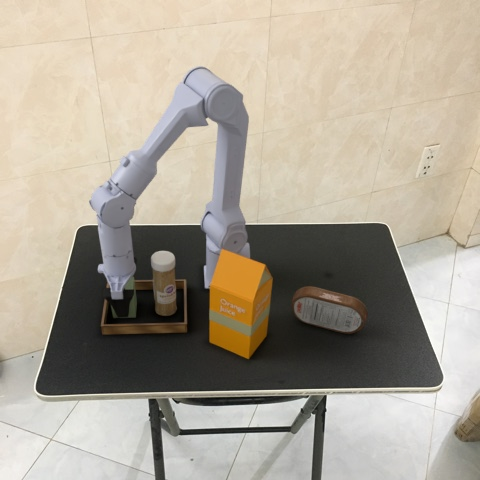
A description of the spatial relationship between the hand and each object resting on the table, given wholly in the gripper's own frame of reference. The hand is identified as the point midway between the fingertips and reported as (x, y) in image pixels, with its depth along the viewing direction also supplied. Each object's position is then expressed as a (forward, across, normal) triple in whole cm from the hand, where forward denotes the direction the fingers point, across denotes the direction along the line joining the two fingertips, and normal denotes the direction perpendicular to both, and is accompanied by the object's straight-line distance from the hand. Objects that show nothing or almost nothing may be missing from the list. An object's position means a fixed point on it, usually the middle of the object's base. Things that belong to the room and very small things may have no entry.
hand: (124, 303), depth 111 cm
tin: (+2, +6, +40) cm, 41 cm away
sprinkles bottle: (+2, 0, +8) cm, 9 cm away
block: (+2, 0, 0) cm, 2 cm away
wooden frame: (+2, 0, +4) cm, 5 cm away
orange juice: (+2, +9, +22) cm, 24 cm away
